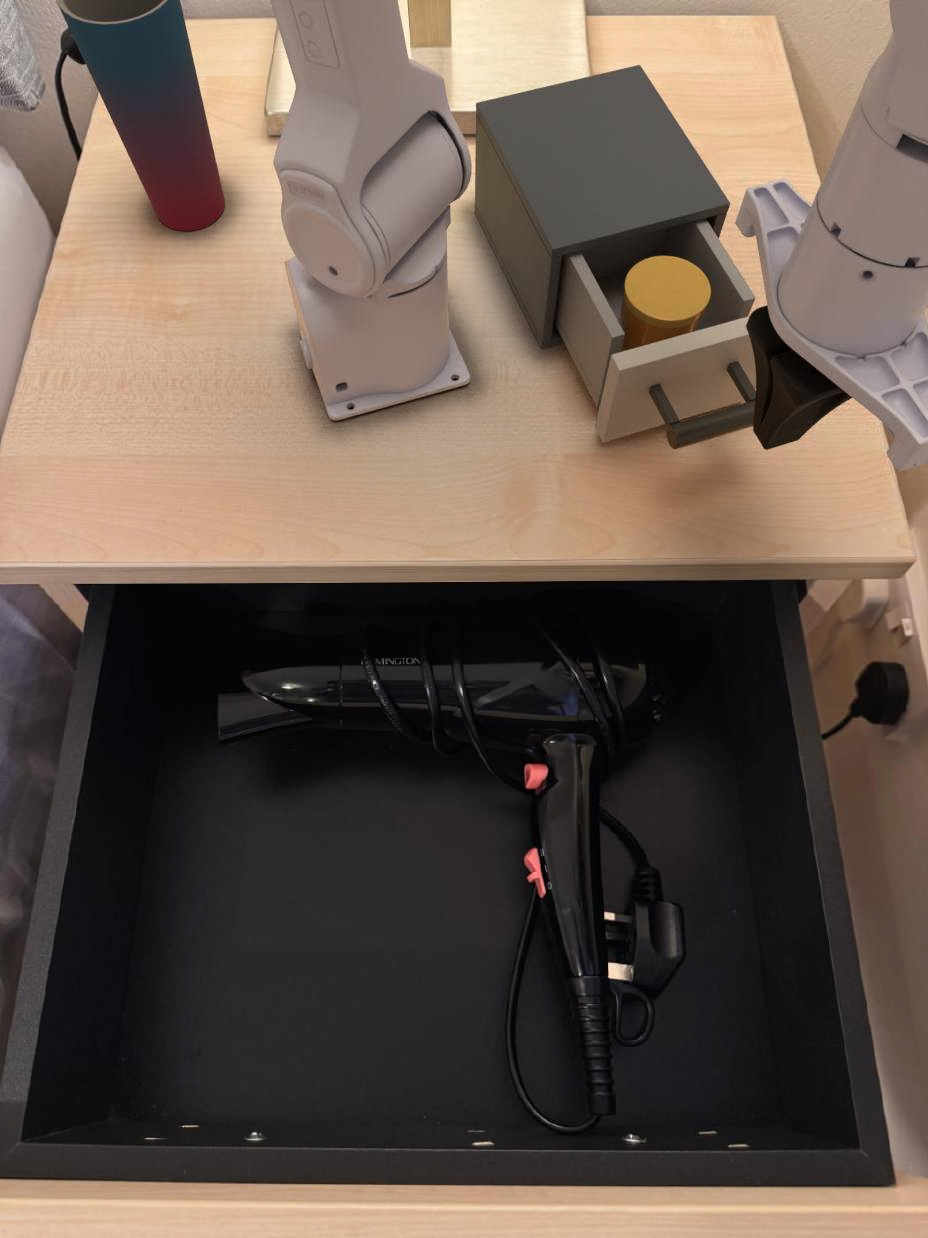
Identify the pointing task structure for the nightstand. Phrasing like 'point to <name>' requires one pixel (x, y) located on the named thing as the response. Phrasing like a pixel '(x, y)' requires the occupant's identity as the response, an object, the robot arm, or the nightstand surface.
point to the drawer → (669, 369)
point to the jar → (662, 300)
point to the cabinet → (582, 179)
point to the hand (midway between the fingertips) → (776, 434)
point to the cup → (152, 101)
